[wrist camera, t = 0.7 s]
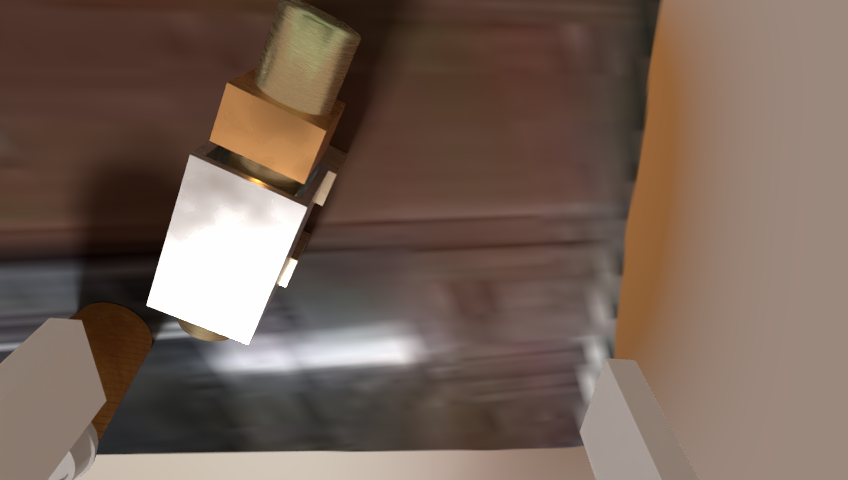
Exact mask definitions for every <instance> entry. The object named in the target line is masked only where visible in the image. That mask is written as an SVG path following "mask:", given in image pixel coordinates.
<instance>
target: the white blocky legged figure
mask: <svg viewBox="0 0 848 480" xmlns="http://www.w3.org/2000/svg"><path fill="white" fill-rule="evenodd" d="M229 153H230V150H229V149H226V148H224V147H222V146H220V145H218V144H216V143H213V142H211V141H208V142H207V143H205V144H204V145H202V146H201V147H200V148H198V149H197V150H195V151H194V152H193V153H191V154H190V156H189V160H188V163H187V166H186V170H185V173H184V177H183V180H182V184H181V187H180V191H179V194H178V198H177V201H176V205H175V208H174V212H173V215H172V218H171V222H170V225H169V229H168V232H167V236H166V239H165V243H164V246H163V250H162V253H161V257H160V260H159V264H158V267H157V270H156V274H155V277H154V281H153V284H152V288H151V291H150V295H149V298H148V302H147V306H149V307H152V308H154V309H157V310H160V311H162V312H165V313H167V314H170V315H173V316H175V317H178V318H180V319H183V320H186V321H188V322H191V323H193V324H196V325H199V326H201V327H204V328H206V329H209V330H212V331H214V332H217V333H219V334H222V335H225V336H227V337H230V338H232V339H235V340H238V341H240V342H243V343H245V344H249V342H250V340H251V338H252V336H253V334H254V332H255V330H256V328H257V327H258V325H259V323H260V321H261V319H262V317H263V315H264V313H265V311H266V309H267V307H268V305H269V303H270V301H271V300H272V298H273V296H274V294H275V292H276V290H277V288H278V286H279V285H281V286H284V287H286V286H287V284H288V282H289V280H290V278H291V276H292V274H293V272H294V270H295V268H296V266H297V264H298V262H299V260H300V258H301V255H302V253H303V251H304V249H305V246H306V244H307V242H308V240H309V238H310V235H311V234H310V233H308V232H306V231H303V229H304V226H305V224H306V222H307V220H308V217H309V215H310V213H311V211H312V208H313V206H314V204H315V203H317V204H319V205H321V206H323V204H324V202H325V200H326V198H327V196H328V194H329V192H330V190H331V188H332V186H333V184H334V182H335V180H336V178H337V175H338V173H339V171H340V169H341V166H342V164H343V162H344V160H345V158H346V155H347V153H345V152H342V151H340V150H338V149H336V148H334V147H332V146H330V145H329V146H328V148H327V150H326V151H325V153H324V155H323V156H322V158H321V159H320V161H319V162H318V164H317V165H316V167H315V168H314V170H313V171H312V173H311V175H310V176H309V178H308V179H307V181H306V182H305V184H302V183H301V184H300V187H299V189H298V192H297V194H296V196H295V197H294V196H292V195H290V194H288V193H286V192H283V191H281V190H279V189H277V188H275V187H272V186H270V185H268V184H266V183H264V182H261V181H259V180H257V179H255V178H253V177H250V176H248V175H246V174H244V173H242V172H239V171H237V170H235V169H233V168H231V167H228V166H226V162H227V159H228V156H229Z"/></svg>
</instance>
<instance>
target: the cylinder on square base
mask: <svg viewBox="0 0 848 480" xmlns="http://www.w3.org/2000/svg"><path fill="white" fill-rule="evenodd" d="M360 40H361V36H360V35H359V33H357V32H356V31H355V30H354V29H352V28H351V27H350V26H348V25H347V24H345V23H343V22H342V21H340V20H338V19H337V18H335V17H333V16H331V15H329V14H328V13H326V12H324V11H322V10H320V9H318V8H315V7H313V6H311V5H309V4H306V3H304V2H301V1H299V0H280V1H279V4H278V7H277V10H276V13H275V16H274V19H273V22H272V25H271V28H270V31H269V34H268V37H267V40H266V43H265V46H264V49H263V52H262V55H261V58H260V61H259V65H258V68H256V69H254V70H252V71H250V72H248V73H246V74H244V75H242V76H240V77H238V78H236V79H234V80H232V81H230V82H228V83H227V85H226V88H225V91H224V95H223V98H222V101H221V104H220V108H219V111H218V114H217V118H216V121H215V124H214V127H213V131H212V134H211V137H210V141H211V142H213V143H216V144H218V145H220V146H222V147H224V148H226V149H229V150H230V153H229V156H228V159H227V162H226V166H228V167H231V168H233V169H235V170H237V171H239V172H242V173H244V174H246V175H248V176H250V177H253V178H255V179H257V180H259V181H261V182H264V183H266V184H268V185H270V186H272V187H275V188H277V189H279V190H281V191H283V192H286V193H288V194H290V195H292V196H294V197H295V196H296V194H297V192H298V189H299V187H300V184H301V183H302V184H305V182H306V181H307V179H308V178H309V176H310V175H311V173H312V171H313V170H314V168H315V167H316V165H317V164H318V162H319V161H320V159H321V158H322V156H323V155H324V153H325V151H326V150H327V148H328V146H329V143H330V141H331V139H332V136H333V134H334V132H335V129H336V127H337V125H338V122H339V120H340V117H341V115H342V113H343V110H344V108H345V106H346V103H344V102H342V101H340V100H338V99H336V98H337V95H338V93H339V90H340V88H341V86H342V83H343V81H344V78H345V76H346V74H347V71H348V69H349V66H350V64H351V61H352V59H353V57H354V54H355V52H356V49H357V47H358V45H359V42H360ZM177 320H178V323H179V325H180V326H181V328H182V329H183V330H184V331H185V332H187V333H188V334H190V335H191V336H193V337H196V338H198V339H201V340H205V341H223V340H227V339H229V338H230V337H227V336H225V335H222V334H219V333H217V332H214V331H212V330H209V329H206V328H204V327H201V326H199V325H196V324H193V323H191V322H188V321H186V320H183V319H180V318H178V317H177Z"/></svg>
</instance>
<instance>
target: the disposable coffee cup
mask: <svg viewBox="0 0 848 480" xmlns="http://www.w3.org/2000/svg"><path fill="white" fill-rule="evenodd" d="M69 319H72V320H82V323H83V326H84V329H85V332H86V336H87V339H88V342H89V345H90V348H91V352H92V355H93V358H94V361H95V365H96V368H97V371H98V374H99V378H100V381H101V384H102V387H103V390H104V394H105V397H106V400H107V401H106V402H105V403H104V405H103V406H102V407H101V409H100V410H99V411H98V413H97V414H96V415H95V417H94V418H93V419H92V421H91V422H90V423H89V425H88V426H87V427H86V429H85V430H84V432H83V433H82V434H81V436H80V437H79V438H78V440H77V441H76V442H75V444H74V445H73V446H72V448H71V449H70V450H69V452H68V453H67V454H66V456H65V457H64V459H63V460H62V461H61V463H60V464H59V465H58V467H57V468H56V469H55V471H54V472H53V473H52V475H51V476H50V477H49V479H48V480H74V479H76V478H78V477H80V476H82V475H83V474H84V473H86V472H87V471H88V470H89V469H90V467H91V465H92V464H93V462H94V460H95V457H96V451H97V447H98V442H99V441H100V438H101V437H102V435H103V433H104V431H105V430H106V428H107V426H108V423H110V421H111V419H112V416H113V415H114V414H115V412H116V409H117V408H118V406H119V404H120V402H121V401H122V399H123V396H125V394H126V392H127V390H128V388H129V386H130V384H131V383H132V381H133V379H134V377H135V376H136V374H137V372H138V370H139V368H140V366H141V365H142V363H143V361H144V359H145V358H146V355H147V354H148V352H149V351H150V349H151V346H152V336H151V332H150V330H149V328H148V326H147V325H146V324H145V322H144V321H143V320H142V319H141V318H140V317H139V316H138V315H137V314H135V313H134V312H132V311H131V310H129V309H127V308H125V307H122V306H120V305H117V304H112V303H104V302H100V303H93V304H90V305H87V306H86V307H84V308H83V309H81V310H80V311H79V312H77V313H76V314H74V315H73V316H71V317H70V318H69Z"/></svg>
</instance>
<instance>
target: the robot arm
mask: <svg viewBox="0 0 848 480" xmlns="http://www.w3.org/2000/svg"><path fill="white" fill-rule="evenodd" d="M106 401H107V400H106V397H105V394H104V390H103V387H102V384H101V381H100V378H99V374H98V371H97V368H96V365H95V361H94V358H93V355H92V352H91V348H90V345H89V342H88V339H87V336H86V332H85V329H84V326H83V323H82V320H72V319H58V318H49V319H48V320H47V321H46V322H45V323H44V324H43V325H42V326H40V327H39V328H38V329H37V330H36V331H35V332H34V333H33V334H32V335H31V336H30V337H29V338H28V339H26V340H25V341H24V342H23V343H22V344H21V345H20V346H19V347H18V348H17V349H16V350H15V351H13V352H12V353H11V354H10V355H9V356H8V357H7V358H6V359H5V360H4V361H3V362H2V363H1V364H0V480H48V479H49V477H50V476H51V475H52V473H53V472H54V471H55V469H56V468H57V467H58V465H59V464H60V463H61V461H62V460H63V459H64V457H65V456H66V454H67V453H68V452H69V450H70V449H71V448H72V446H73V445H74V444H75V442H76V441H77V440H78V438H79V437H80V436H81V434H82V433H83V432H84V430H85V429H86V427H87V426H88V425H89V423H90V422H91V421H92V419H93V418H94V417H95V415H96V414H97V413H98V411H99V410H100V409H101V407H102V406H103V405H104V403H105V402H106ZM580 434H581V437H582V440H583V443H584V446H585V449H586V452H587V455H588V458H589V461H590V464H591V467H592V470H593V473H594V476H595V479H596V480H699V479H698V477H697V476H696V474H695V472H694V470H693V468H692V466H691V464H690V462H689V460H688V459H687V457H686V455H685V453H684V451H683V449H682V447H681V446H680V444H679V442H678V440H677V438H676V436H675V434H674V432H673V431H672V429H671V427H670V425H669V423H668V421H667V419H666V417H665V415H664V414H663V412H662V410H661V408H660V406H659V404H658V402H657V401H656V399H655V397H654V395H653V393H652V391H651V389H650V387H649V385H648V384H647V382H646V380H645V378H644V376H643V374H642V373H641V371H640V369H639V367H638V365H637V363H636V361H635V360H622V359H609V358H606V359H605V362H604V365H603V368H602V371H601V374H600V376H599V379H598V382H597V385H596V388H595V390H594V393H593V396H592V399H591V402H590V405H589V407H588V410H587V413H586V416H585V419H584V421H583V424H582V427H581V430H580Z"/></svg>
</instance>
